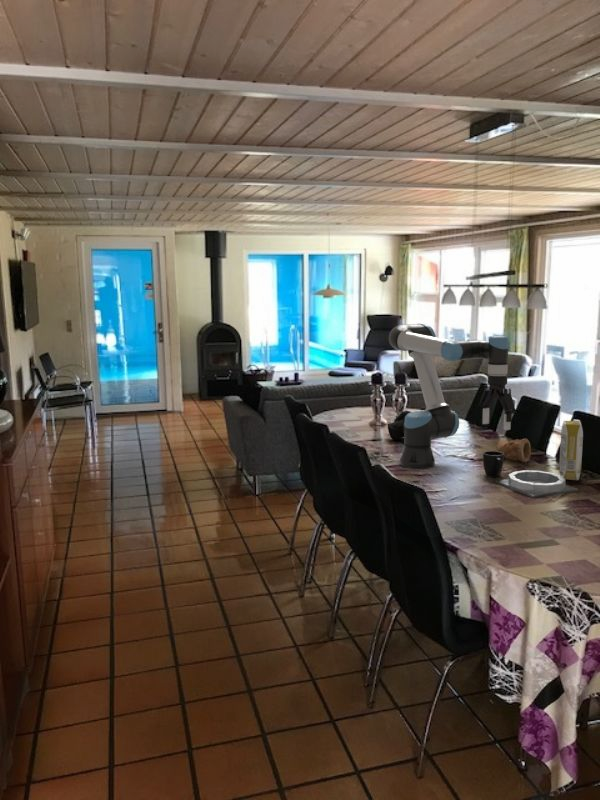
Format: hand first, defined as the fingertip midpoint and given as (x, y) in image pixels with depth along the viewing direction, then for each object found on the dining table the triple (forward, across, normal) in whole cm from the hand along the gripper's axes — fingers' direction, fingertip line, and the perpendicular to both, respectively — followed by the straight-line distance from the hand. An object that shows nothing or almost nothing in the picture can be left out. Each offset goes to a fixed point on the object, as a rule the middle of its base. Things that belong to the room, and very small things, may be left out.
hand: (496, 426), depth 256 cm
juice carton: (+21, -13, -27) cm, 37 cm away
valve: (+21, +68, -2) cm, 71 cm away
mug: (+21, 0, 0) cm, 21 cm away
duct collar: (+21, -18, -6) cm, 28 cm away
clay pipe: (+21, +21, -26) cm, 40 cm away
